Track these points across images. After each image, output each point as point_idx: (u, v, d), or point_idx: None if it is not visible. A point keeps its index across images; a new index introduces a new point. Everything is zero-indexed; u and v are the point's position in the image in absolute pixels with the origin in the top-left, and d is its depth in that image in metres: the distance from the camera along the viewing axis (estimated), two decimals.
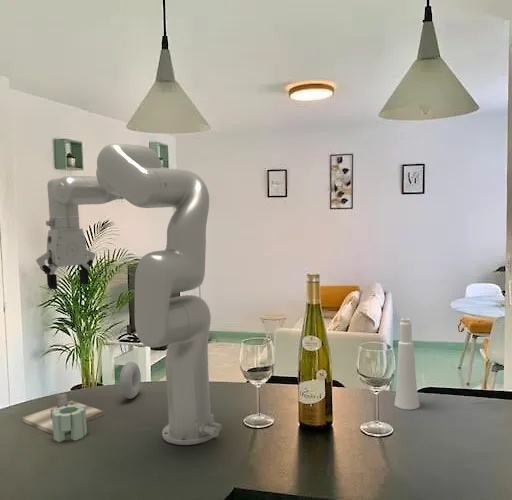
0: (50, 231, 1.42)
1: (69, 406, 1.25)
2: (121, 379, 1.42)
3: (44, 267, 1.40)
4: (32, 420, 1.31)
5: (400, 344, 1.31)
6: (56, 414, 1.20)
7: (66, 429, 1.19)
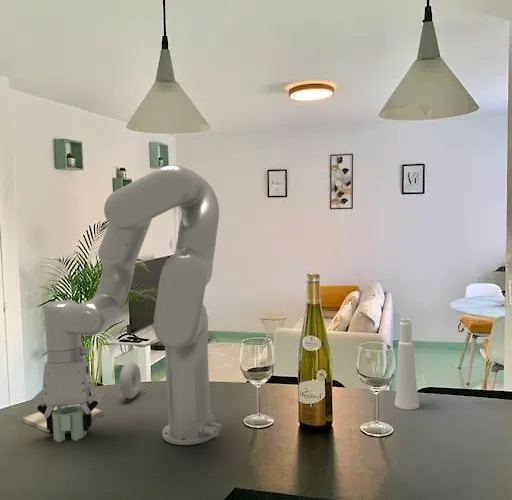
0: (85, 360, 1.22)
1: (69, 406, 1.25)
2: (121, 379, 1.42)
3: None
4: (32, 420, 1.31)
5: (400, 344, 1.31)
6: (56, 414, 1.20)
7: (66, 429, 1.19)
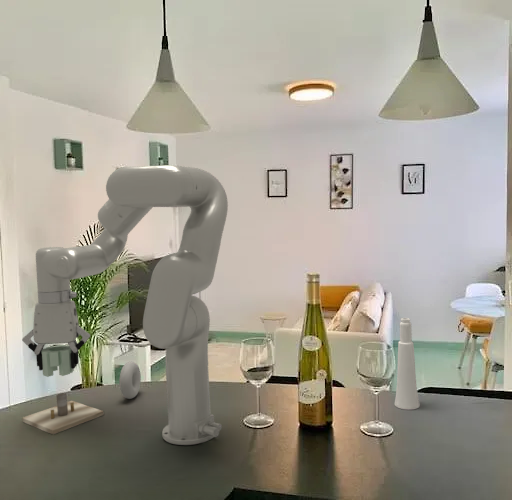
0: (73, 303, 1.32)
1: (58, 346, 1.35)
2: (121, 379, 1.42)
3: None
4: (32, 420, 1.31)
5: (400, 344, 1.31)
6: (45, 351, 1.30)
7: (54, 365, 1.29)
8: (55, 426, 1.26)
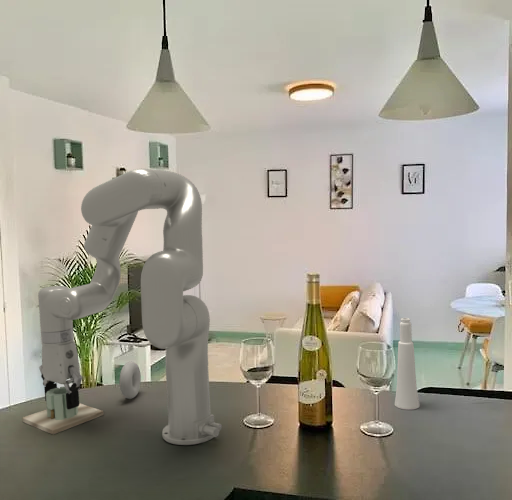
0: (68, 345, 1.30)
1: None
2: (121, 379, 1.42)
3: (80, 383, 1.29)
4: (32, 420, 1.31)
5: (400, 344, 1.31)
6: (48, 391, 1.33)
7: (49, 407, 1.31)
8: (55, 426, 1.26)
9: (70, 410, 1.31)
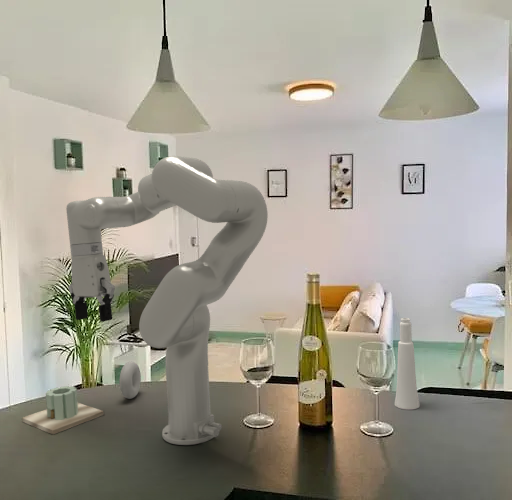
0: (99, 257, 1.29)
1: (69, 387, 1.35)
2: (121, 379, 1.42)
3: None
4: (32, 420, 1.31)
5: (400, 344, 1.31)
6: (48, 391, 1.33)
7: (49, 407, 1.31)
8: (55, 426, 1.26)
9: (70, 410, 1.31)
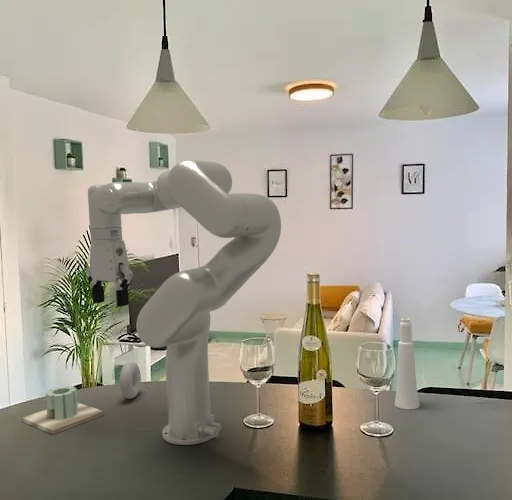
0: (118, 242, 1.29)
1: (69, 387, 1.35)
2: (121, 379, 1.42)
3: None
4: (32, 420, 1.31)
5: (400, 344, 1.31)
6: (48, 391, 1.33)
7: (49, 407, 1.31)
8: (55, 426, 1.26)
9: (70, 410, 1.31)
